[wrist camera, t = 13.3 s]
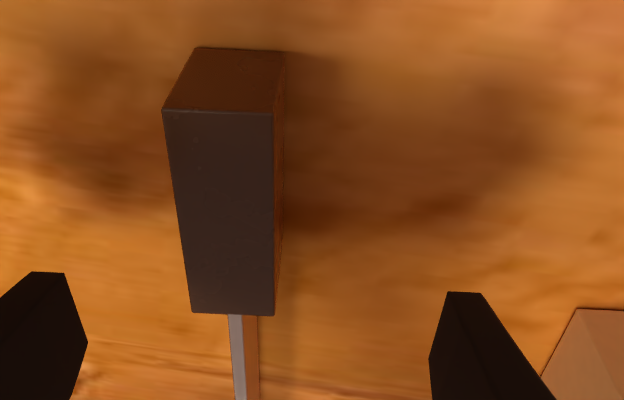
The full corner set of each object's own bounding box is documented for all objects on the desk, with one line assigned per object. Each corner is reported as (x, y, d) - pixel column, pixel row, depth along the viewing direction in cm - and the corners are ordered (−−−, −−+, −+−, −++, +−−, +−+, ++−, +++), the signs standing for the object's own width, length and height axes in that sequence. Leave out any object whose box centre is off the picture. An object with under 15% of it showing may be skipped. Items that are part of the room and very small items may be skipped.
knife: (193, 46, 13) (160, 108, 10) (284, 51, 13) (273, 114, 10) (230, 409, 22) (217, 487, 20) (281, 411, 22) (275, 489, 20)
